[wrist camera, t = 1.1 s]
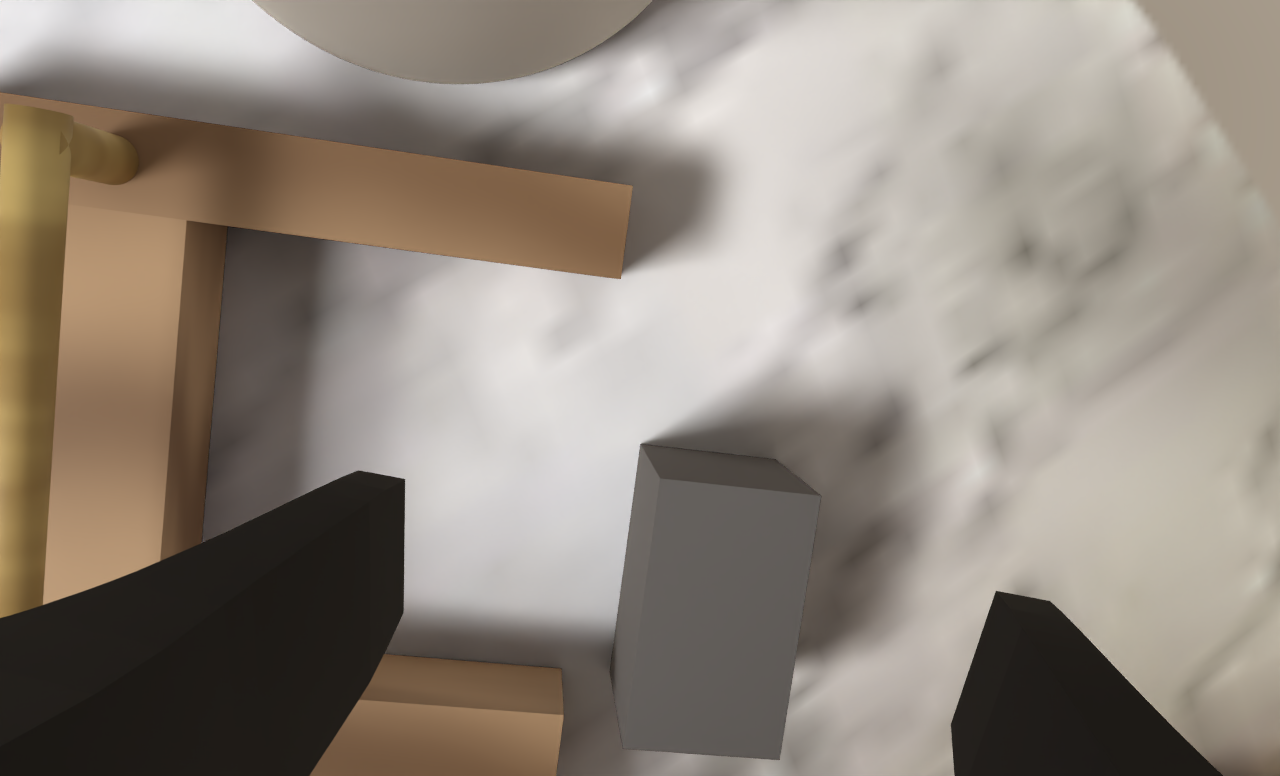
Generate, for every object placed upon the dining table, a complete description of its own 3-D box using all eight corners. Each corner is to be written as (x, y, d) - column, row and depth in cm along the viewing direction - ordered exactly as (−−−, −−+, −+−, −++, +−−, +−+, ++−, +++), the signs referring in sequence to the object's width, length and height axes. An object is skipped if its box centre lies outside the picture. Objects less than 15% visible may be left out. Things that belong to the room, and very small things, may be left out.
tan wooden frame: (542, 814, 24) (543, 985, 18) (-81, 776, 22) (-298, 952, 16) (622, 195, 22) (651, 168, 16) (-48, 97, 20) (-277, 29, 15)
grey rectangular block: (740, 680, 24) (779, 760, 20) (609, 669, 24) (622, 748, 20) (774, 458, 24) (821, 495, 20) (640, 443, 23) (660, 478, 19)
